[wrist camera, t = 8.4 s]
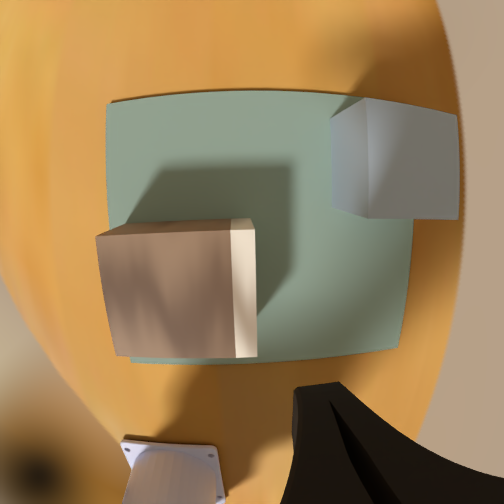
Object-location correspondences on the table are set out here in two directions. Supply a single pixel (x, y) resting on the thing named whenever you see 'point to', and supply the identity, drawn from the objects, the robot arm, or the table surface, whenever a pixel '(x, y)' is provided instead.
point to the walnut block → (181, 288)
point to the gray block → (395, 161)
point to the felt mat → (266, 213)
